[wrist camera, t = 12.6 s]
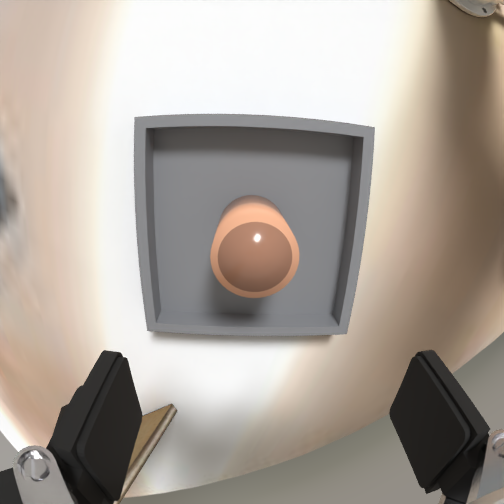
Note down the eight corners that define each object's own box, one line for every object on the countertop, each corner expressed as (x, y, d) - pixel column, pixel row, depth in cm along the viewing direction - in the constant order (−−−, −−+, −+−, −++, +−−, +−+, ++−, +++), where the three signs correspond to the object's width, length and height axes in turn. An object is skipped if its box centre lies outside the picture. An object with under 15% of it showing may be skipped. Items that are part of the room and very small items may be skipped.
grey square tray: (360, 128, 26) (374, 127, 23) (337, 316, 33) (346, 334, 30) (147, 120, 26) (134, 117, 22) (155, 313, 32) (147, 330, 29)
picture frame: (64, 448, 43) (21, 563, 14) (27, 416, 40) (-31, 530, 11) (178, 407, 37) (146, 614, 9) (126, 360, 34) (44, 582, 6)
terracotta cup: (286, 196, 28) (303, 216, 20) (281, 259, 30) (295, 298, 22) (219, 194, 27) (210, 213, 20) (218, 257, 29) (210, 297, 22)
